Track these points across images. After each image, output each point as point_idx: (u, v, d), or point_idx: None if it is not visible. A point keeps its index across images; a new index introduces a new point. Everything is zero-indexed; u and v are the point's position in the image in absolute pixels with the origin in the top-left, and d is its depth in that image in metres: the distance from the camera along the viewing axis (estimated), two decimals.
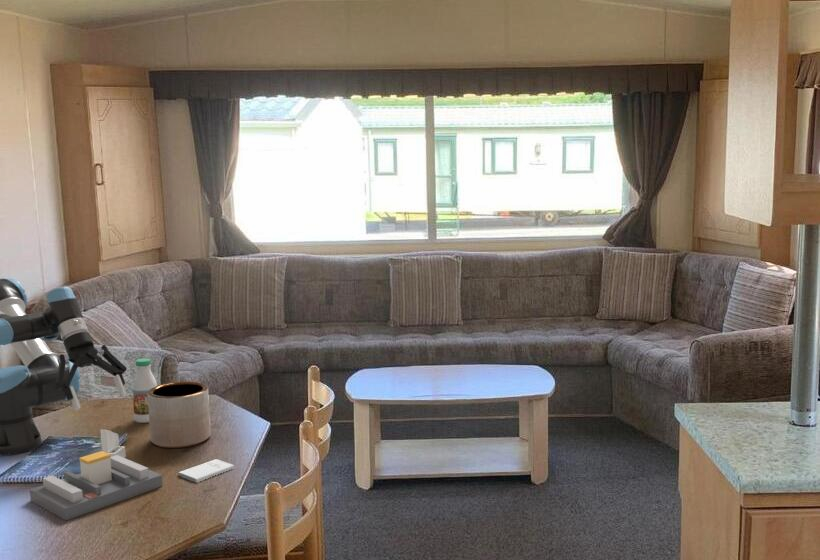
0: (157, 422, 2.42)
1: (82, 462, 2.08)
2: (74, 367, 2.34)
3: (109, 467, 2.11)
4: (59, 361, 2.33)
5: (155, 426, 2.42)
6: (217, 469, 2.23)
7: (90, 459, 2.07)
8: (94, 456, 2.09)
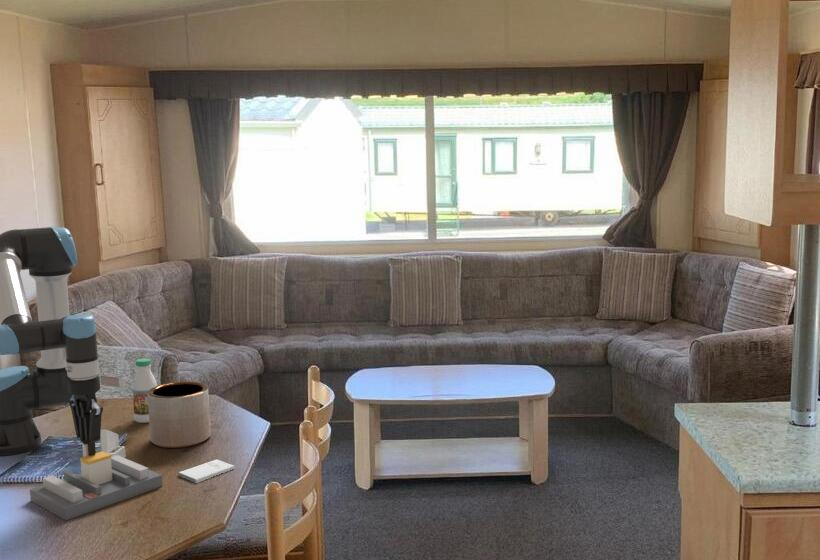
0: (157, 422, 2.42)
1: (83, 462, 2.08)
2: (79, 417, 2.10)
3: (110, 467, 2.11)
4: None
5: (155, 426, 2.42)
6: (217, 470, 2.23)
7: (91, 459, 2.07)
8: (95, 456, 2.09)
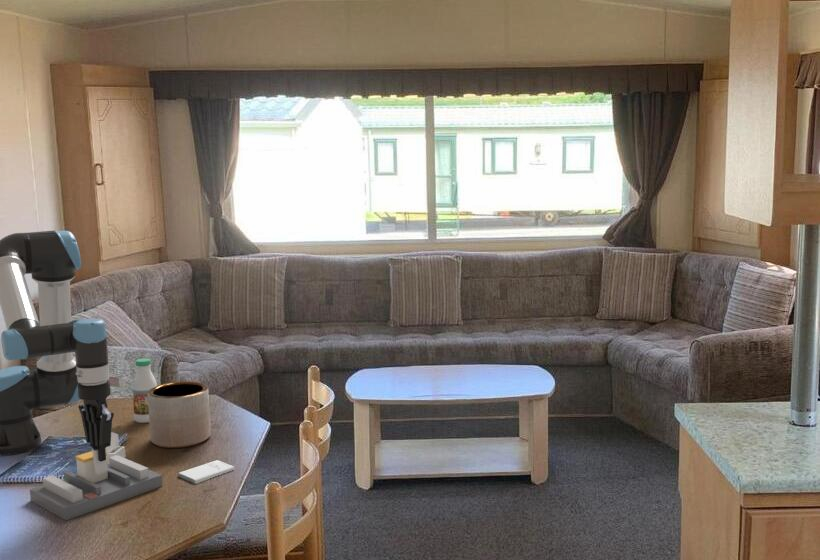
0: (157, 422, 2.42)
1: (79, 460, 2.09)
2: (89, 422, 2.07)
3: None
4: None
5: (155, 426, 2.42)
6: (217, 470, 2.22)
7: (86, 457, 2.08)
8: (90, 454, 2.10)
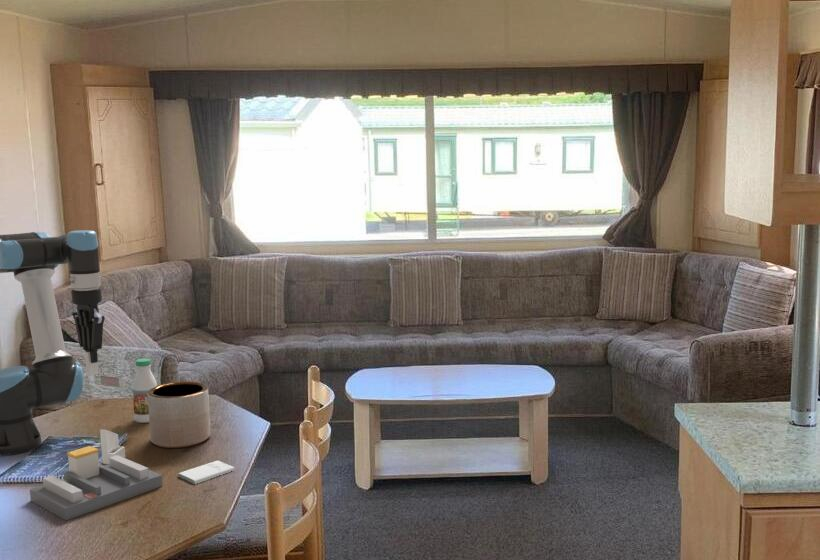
0: (157, 422, 2.42)
1: (70, 457, 2.12)
2: (82, 327, 2.23)
3: (97, 462, 2.15)
4: None
5: (155, 426, 2.42)
6: (217, 471, 2.22)
7: (78, 454, 2.11)
8: (82, 451, 2.13)
